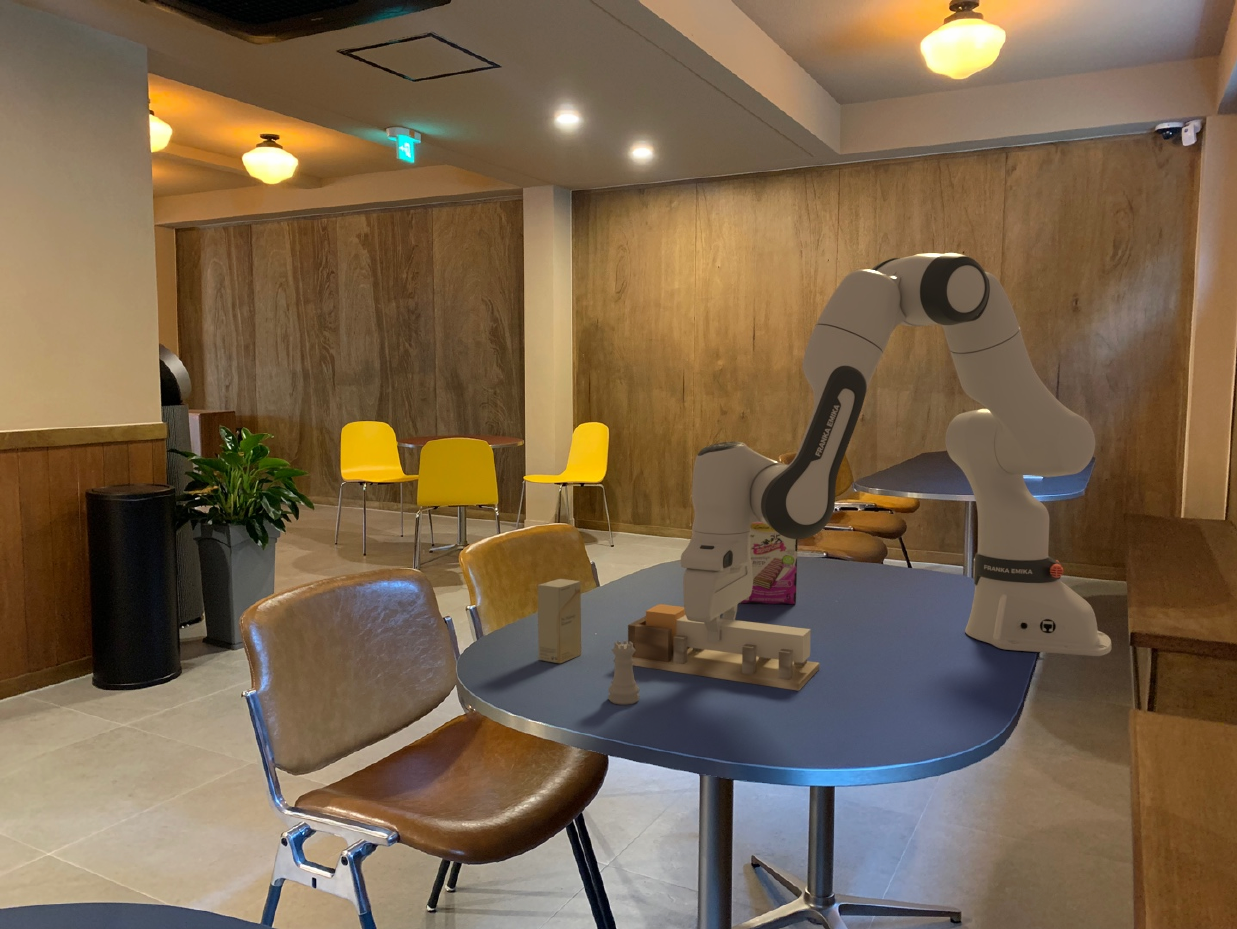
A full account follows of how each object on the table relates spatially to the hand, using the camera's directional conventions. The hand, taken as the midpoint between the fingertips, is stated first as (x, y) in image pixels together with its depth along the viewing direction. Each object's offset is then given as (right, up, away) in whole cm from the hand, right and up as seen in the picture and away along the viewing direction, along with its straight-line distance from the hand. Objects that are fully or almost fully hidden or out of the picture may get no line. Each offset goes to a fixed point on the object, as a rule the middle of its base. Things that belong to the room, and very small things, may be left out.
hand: (720, 637), depth 139 cm
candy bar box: (+14, -1, +42) cm, 45 cm away
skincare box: (-25, -4, +5) cm, 26 cm away
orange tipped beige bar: (+1, -2, 0) cm, 2 cm away
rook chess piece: (-15, -6, -14) cm, 22 cm away
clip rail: (0, -5, 0) cm, 5 cm away
